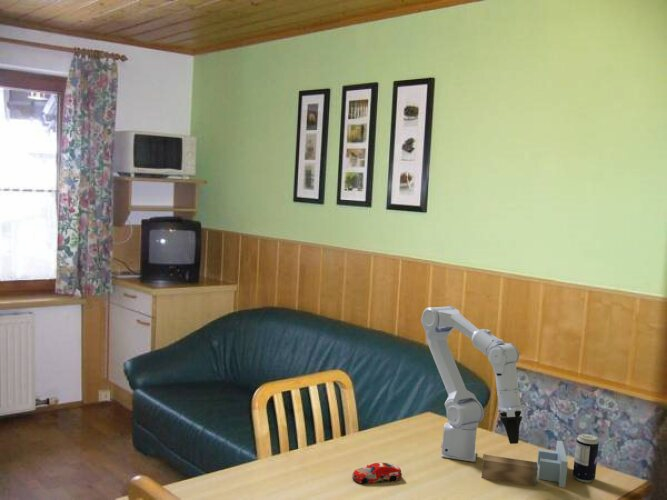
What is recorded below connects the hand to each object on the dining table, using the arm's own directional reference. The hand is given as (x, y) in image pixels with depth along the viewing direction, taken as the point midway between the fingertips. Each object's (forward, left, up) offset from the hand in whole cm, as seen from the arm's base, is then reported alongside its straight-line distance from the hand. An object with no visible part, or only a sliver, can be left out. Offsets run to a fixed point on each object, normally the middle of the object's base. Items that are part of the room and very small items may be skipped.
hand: (513, 441), depth 187 cm
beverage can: (+19, +7, -10) cm, 23 cm away
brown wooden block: (-1, -1, -10) cm, 10 cm away
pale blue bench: (+11, +7, -10) cm, 17 cm away
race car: (-34, -14, -11) cm, 38 cm away
